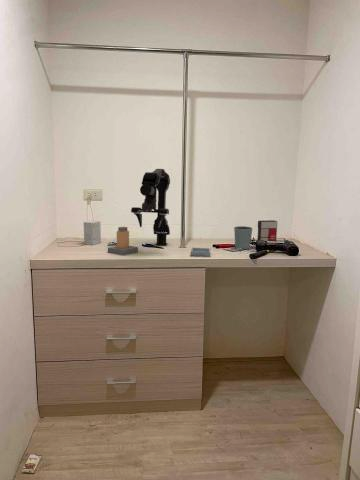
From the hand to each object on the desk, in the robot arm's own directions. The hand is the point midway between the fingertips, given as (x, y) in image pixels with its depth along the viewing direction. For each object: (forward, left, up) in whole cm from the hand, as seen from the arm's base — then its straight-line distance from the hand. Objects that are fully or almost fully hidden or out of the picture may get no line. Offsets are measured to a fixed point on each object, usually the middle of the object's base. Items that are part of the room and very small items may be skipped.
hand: (149, 227), depth 194 cm
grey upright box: (-35, +64, -14) cm, 75 cm away
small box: (-22, -38, -14) cm, 46 cm away
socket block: (+2, -14, -14) cm, 20 cm away
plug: (+2, -14, -13) cm, 19 cm away
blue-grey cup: (-25, +49, -14) cm, 57 cm away
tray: (-4, +26, -14) cm, 30 cm away
